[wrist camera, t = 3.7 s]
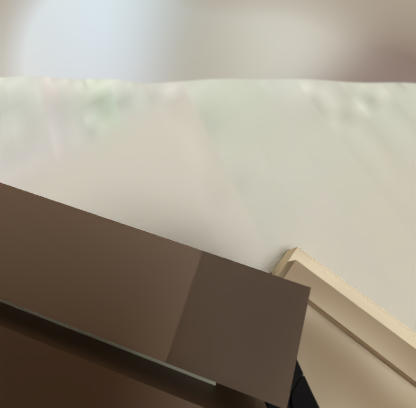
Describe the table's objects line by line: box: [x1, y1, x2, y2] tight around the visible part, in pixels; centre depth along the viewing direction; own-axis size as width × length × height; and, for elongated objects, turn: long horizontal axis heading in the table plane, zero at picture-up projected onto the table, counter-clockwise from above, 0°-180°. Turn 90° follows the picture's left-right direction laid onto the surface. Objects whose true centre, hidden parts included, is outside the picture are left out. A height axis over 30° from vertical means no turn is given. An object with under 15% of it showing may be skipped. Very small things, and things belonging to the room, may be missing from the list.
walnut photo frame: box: [0, 183, 311, 408], centre depth 9 cm, size 3×6×12 cm, turn 72°
